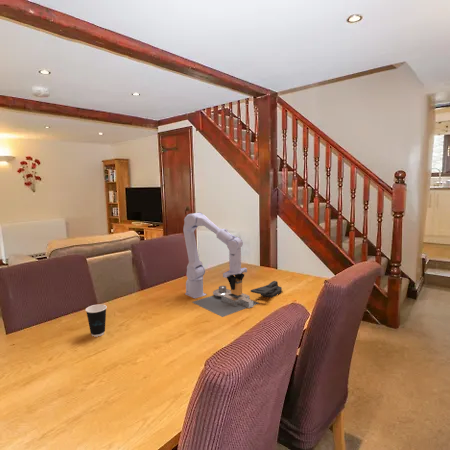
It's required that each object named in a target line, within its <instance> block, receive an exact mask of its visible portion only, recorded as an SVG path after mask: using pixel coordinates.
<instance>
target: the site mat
mask: <svg viewBox="0 0 450 450" xmlns="http://www.w3.org/2000/svg"><path fill="white" fill-rule="evenodd" d="M191 303H192V304H193V305H197V306H198V307H200V308H202V309H205V310H207V311H209V312H211V313H213V314H216V315H217V316H220V317H221V318H224V317H227V316H229V315H232V314H235V313H238V312H240V311H243V310H245V309H248V308H247V307H244V306H242V305H238V306H235V307H234V306H232V305H230V304H227V303H225V302H223V301H221V297H218V296H215V295H213V294H212V295H211V296H206V297H204V298H200V299H197V300H194V301H192V302H191ZM255 305H260V303H259V302H258V301H255V300H253V307H254V306H255Z"/></svg>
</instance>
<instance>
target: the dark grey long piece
mask: <svg viewBox="0 0 450 450" xmlns="http://www.w3.org/2000/svg"><path fill="white" fill-rule="evenodd" d="M282 289H283V288H282V286H279V284H278V281H277V280H273V281H270V283H268V284H267V285H264V286H261V287H257V288H253V289H250V293H253V294H258V295H260V296H262V297H263V298H264V297H265V298H274V297H277V296H278V295H280V294H282V293H283V292H282V291H283V290H282ZM281 292H282V293H281ZM279 293H280V294H279ZM277 294H278V295H277ZM276 295H277V296H276Z"/></svg>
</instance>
